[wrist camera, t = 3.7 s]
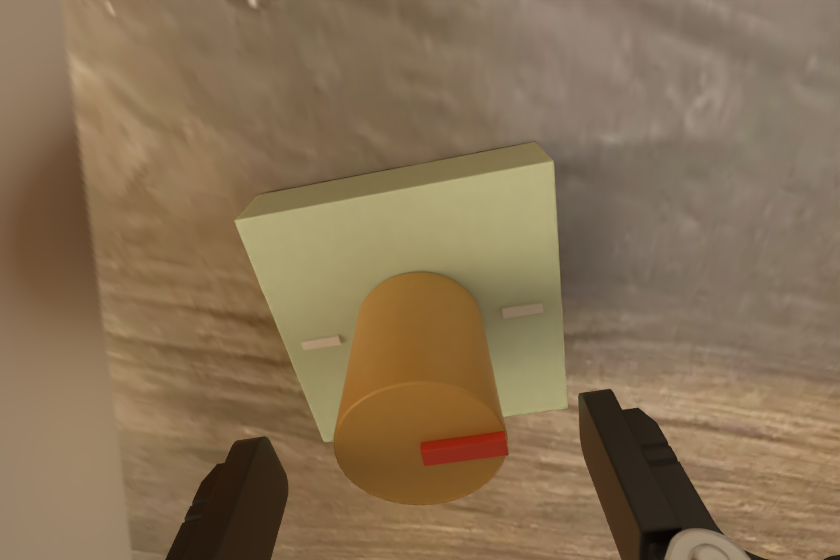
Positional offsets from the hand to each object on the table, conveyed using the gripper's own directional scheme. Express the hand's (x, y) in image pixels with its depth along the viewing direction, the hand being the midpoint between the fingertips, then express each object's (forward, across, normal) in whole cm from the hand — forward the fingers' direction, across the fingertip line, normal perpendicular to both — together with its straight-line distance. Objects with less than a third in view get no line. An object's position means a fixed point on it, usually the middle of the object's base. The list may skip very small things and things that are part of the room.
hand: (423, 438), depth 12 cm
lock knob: (+5, 0, 0) cm, 5 cm away
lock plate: (+8, 0, 0) cm, 8 cm away
